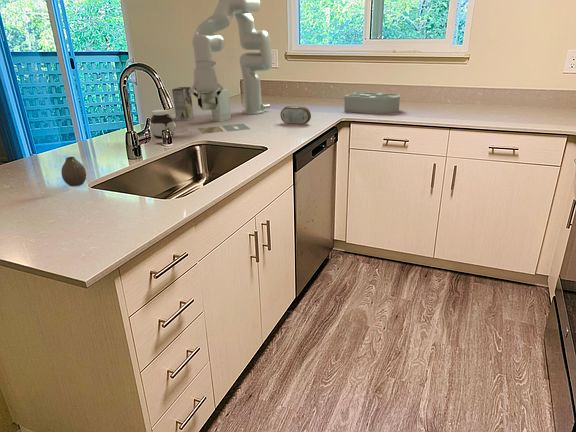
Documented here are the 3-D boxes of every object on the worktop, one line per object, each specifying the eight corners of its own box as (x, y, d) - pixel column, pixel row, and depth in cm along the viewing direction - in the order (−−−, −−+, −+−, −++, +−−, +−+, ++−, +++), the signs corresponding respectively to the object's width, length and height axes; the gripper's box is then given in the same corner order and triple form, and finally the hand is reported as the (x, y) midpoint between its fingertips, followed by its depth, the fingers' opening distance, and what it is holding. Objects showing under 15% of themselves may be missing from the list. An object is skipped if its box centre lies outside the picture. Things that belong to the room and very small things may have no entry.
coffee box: (183, 117, 238) (179, 86, 232) (194, 117, 237) (190, 86, 231) (175, 120, 230) (171, 89, 224) (187, 120, 229) (183, 89, 222)
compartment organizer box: (355, 107, 253) (356, 91, 249) (403, 110, 239) (404, 94, 235) (343, 112, 240) (343, 96, 236) (393, 115, 226) (394, 98, 223)
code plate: (243, 124, 216) (243, 123, 216) (250, 130, 204) (250, 129, 203) (221, 126, 212) (221, 125, 212) (227, 132, 200) (227, 131, 200)
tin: (311, 124, 212) (311, 106, 209) (309, 125, 210) (309, 107, 206) (282, 122, 217) (281, 105, 214) (280, 124, 214) (279, 106, 211)
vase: (69, 181, 142) (62, 155, 138) (91, 180, 142) (85, 154, 139) (61, 188, 135) (54, 161, 132) (83, 187, 136) (77, 160, 132)
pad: (218, 127, 211) (218, 126, 211) (224, 132, 201) (224, 131, 201) (198, 129, 208) (197, 128, 208) (202, 134, 198) (202, 133, 198)
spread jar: (154, 140, 191) (150, 113, 186) (149, 135, 200) (144, 109, 196) (181, 136, 196) (177, 110, 191) (175, 131, 205) (171, 106, 201)
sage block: (213, 107, 204) (212, 91, 201) (216, 109, 198) (214, 93, 196) (200, 108, 202) (199, 92, 199) (203, 110, 197) (201, 94, 194)
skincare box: (222, 118, 231) (220, 88, 225) (232, 119, 228) (229, 88, 222) (211, 121, 225) (208, 90, 219) (221, 122, 222) (218, 91, 215)
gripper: (221, 63, 199) (224, 103, 206) (183, 65, 193) (188, 106, 200) (225, 64, 192) (228, 106, 199) (185, 66, 187) (190, 109, 194)
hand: (208, 106), depth 200 cm, fingers closed on sage block, 6 cm apart
